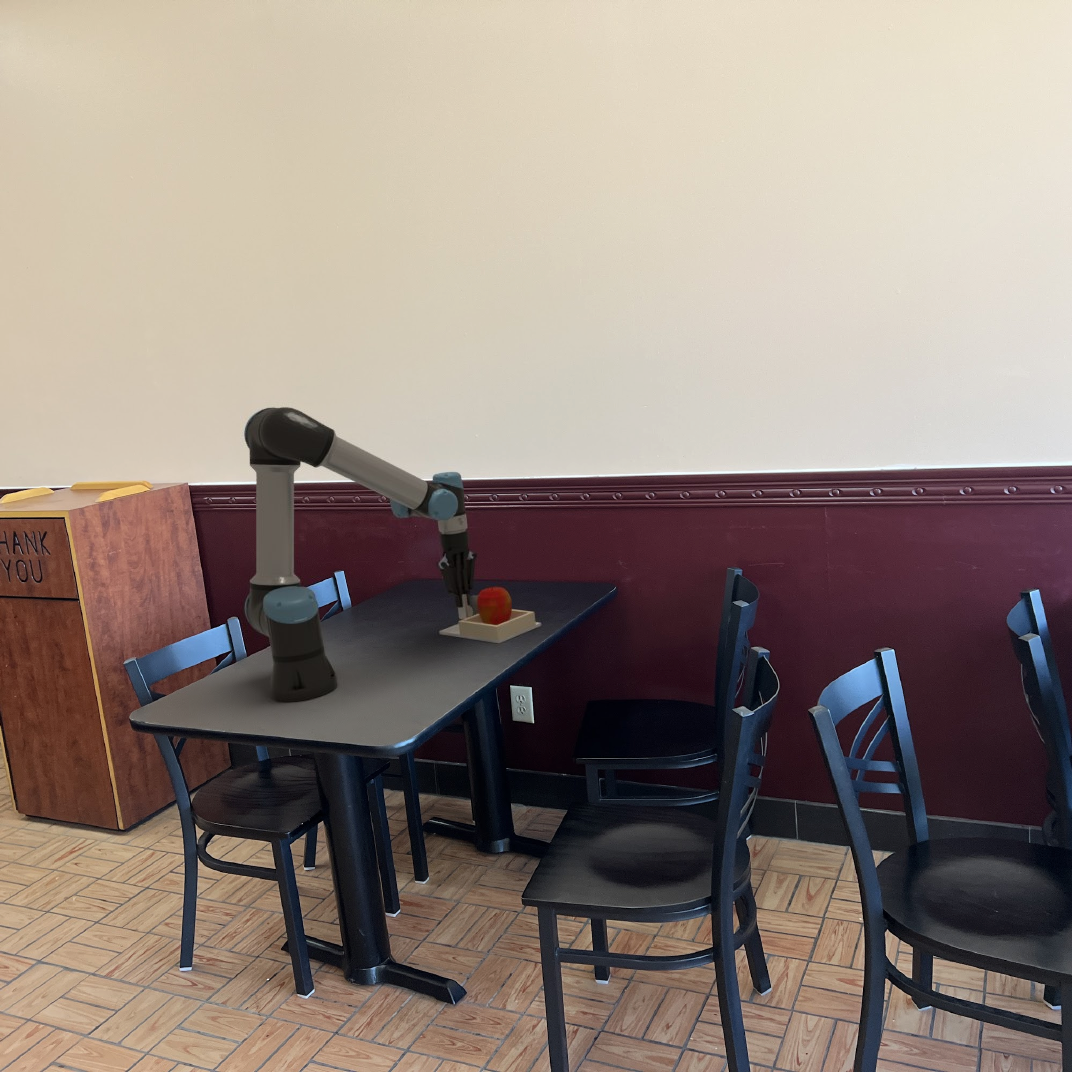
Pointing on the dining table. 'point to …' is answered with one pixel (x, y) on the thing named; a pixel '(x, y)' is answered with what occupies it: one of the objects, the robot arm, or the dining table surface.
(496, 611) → the apple
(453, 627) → the chassis
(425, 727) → the dining table surface
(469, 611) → the wheel
